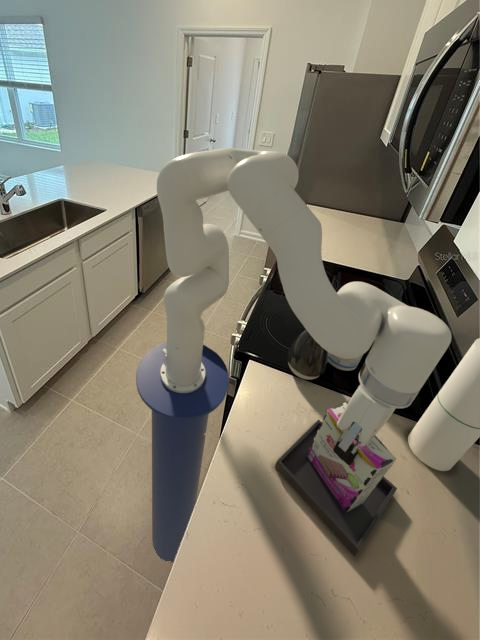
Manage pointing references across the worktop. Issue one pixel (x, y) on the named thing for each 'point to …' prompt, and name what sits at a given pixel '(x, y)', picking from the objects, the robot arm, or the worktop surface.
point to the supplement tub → (343, 362)
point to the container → (451, 417)
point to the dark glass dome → (307, 357)
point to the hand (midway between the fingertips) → (351, 445)
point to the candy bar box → (339, 477)
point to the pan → (318, 496)
